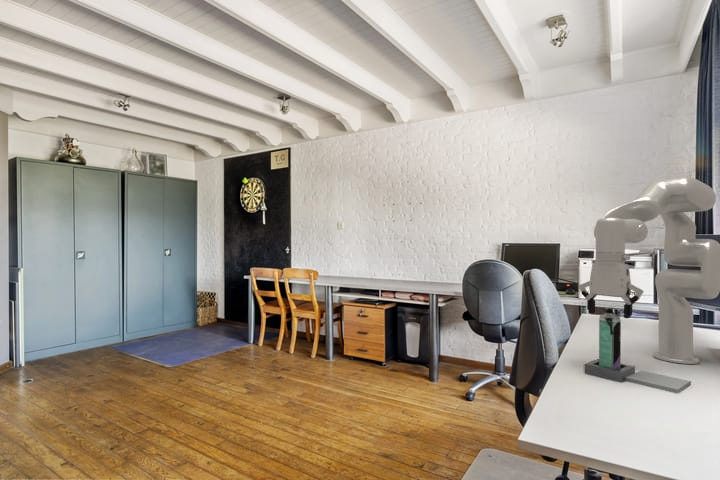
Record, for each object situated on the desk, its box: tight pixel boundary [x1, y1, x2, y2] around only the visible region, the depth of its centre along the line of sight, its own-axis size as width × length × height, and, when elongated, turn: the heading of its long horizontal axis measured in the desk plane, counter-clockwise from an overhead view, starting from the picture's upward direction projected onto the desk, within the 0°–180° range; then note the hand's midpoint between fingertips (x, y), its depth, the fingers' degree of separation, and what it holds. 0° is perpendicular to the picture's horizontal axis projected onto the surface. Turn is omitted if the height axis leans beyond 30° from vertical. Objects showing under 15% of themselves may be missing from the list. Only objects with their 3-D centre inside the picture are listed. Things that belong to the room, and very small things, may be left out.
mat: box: [625, 370, 692, 394], centre depth 113 cm, size 12×12×1 cm
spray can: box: [598, 308, 622, 370], centre depth 119 cm, size 6×6×20 cm
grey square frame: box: [584, 358, 636, 384], centre depth 119 cm, size 10×10×3 cm
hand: (608, 315), depth 119 cm, fingers open, 9 cm apart
